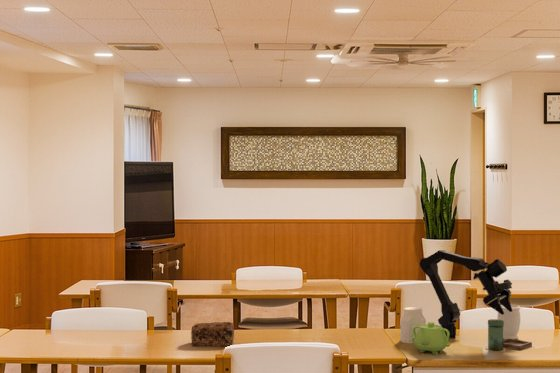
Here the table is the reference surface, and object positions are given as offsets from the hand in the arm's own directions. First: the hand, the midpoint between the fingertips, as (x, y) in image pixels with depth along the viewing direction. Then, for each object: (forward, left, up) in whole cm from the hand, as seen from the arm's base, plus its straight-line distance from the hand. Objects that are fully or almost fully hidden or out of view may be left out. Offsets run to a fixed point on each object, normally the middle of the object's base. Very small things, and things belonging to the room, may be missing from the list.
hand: (507, 312), depth 363 cm
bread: (-132, -1, -15) cm, 133 cm away
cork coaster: (-8, -12, -14) cm, 20 cm away
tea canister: (-8, -12, -14) cm, 20 cm away
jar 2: (+5, +15, -15) cm, 21 cm away
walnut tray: (+2, -5, -14) cm, 15 cm away
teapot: (-37, -15, -15) cm, 43 cm away
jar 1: (-41, +7, -15) cm, 44 cm away
